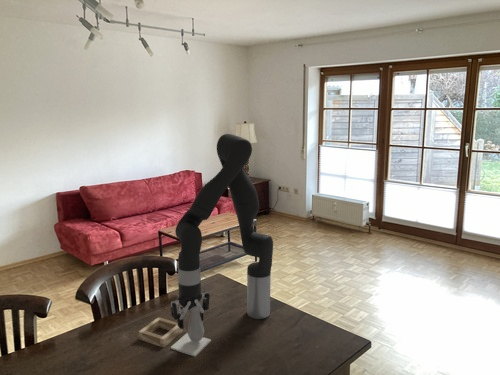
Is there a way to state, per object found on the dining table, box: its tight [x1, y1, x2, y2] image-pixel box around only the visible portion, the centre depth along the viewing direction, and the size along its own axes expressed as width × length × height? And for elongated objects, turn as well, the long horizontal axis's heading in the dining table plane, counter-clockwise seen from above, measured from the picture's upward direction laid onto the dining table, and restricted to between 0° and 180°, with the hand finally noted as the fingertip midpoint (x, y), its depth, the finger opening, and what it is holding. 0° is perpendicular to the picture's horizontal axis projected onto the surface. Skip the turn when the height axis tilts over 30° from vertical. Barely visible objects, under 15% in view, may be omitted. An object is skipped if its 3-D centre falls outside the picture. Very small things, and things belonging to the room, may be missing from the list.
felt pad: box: [170, 332, 212, 357], centre depth 138 cm, size 10×10×1 cm
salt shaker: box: [187, 305, 205, 342], centre depth 137 cm, size 6×6×13 cm
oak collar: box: [138, 316, 184, 348], centre depth 143 cm, size 11×11×3 cm
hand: (190, 324), depth 136 cm, fingers open, 6 cm apart
